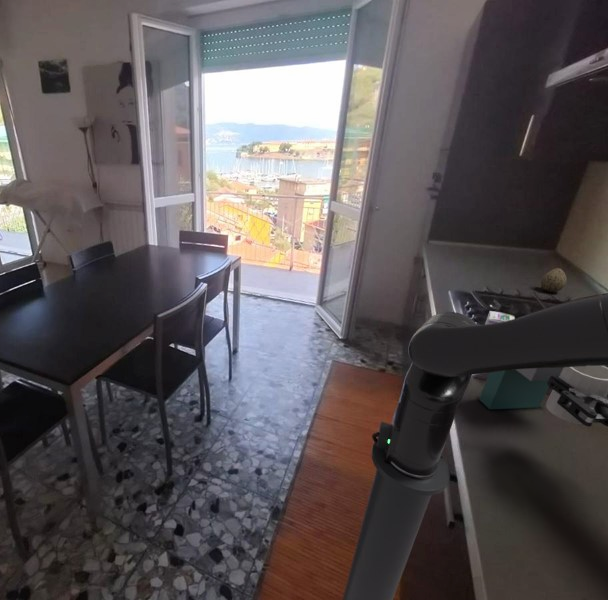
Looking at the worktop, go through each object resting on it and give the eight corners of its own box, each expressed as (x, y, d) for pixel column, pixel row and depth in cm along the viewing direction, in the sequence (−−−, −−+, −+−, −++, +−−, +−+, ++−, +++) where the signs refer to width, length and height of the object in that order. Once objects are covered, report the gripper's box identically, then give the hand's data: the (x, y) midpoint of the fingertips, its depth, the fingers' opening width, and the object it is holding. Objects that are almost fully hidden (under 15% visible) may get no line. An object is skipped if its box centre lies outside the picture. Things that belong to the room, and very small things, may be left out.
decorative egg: (566, 294, 140) (576, 270, 136) (551, 296, 139) (562, 272, 134) (546, 287, 146) (556, 264, 142) (532, 289, 145) (542, 266, 141)
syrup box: (498, 369, 98) (516, 324, 92) (472, 362, 101) (488, 317, 95) (498, 360, 102) (516, 315, 96) (473, 353, 105) (489, 309, 99)
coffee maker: (478, 399, 87) (504, 333, 79) (526, 397, 88) (557, 331, 80) (510, 429, 79) (543, 358, 70) (563, 427, 79) (602, 356, 71)
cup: (550, 417, 66) (573, 373, 62) (541, 397, 71) (561, 355, 67) (597, 429, 63) (624, 384, 59) (584, 407, 68) (608, 364, 64)
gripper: (742, 429, 50) (615, 360, 65) (643, 433, 50) (539, 363, 65) (711, 466, 53) (597, 393, 68) (618, 471, 53) (524, 396, 68)
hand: (569, 379), depth 66 cm, fingers closed on cup, 6 cm apart
